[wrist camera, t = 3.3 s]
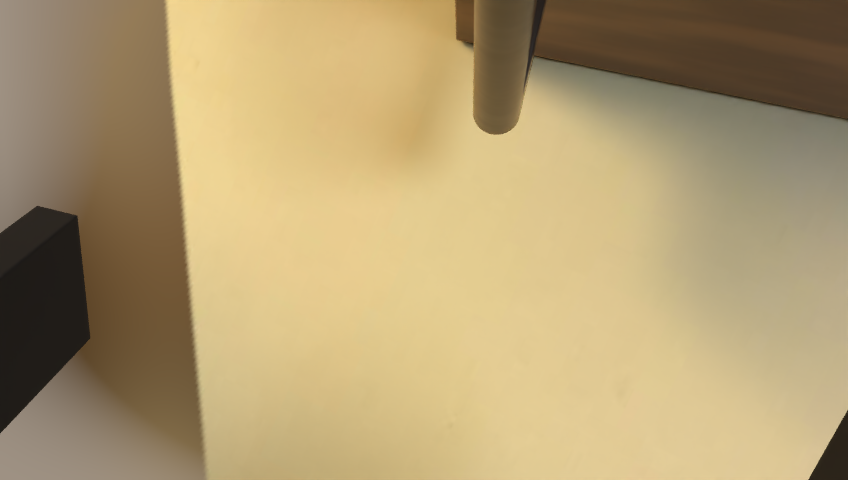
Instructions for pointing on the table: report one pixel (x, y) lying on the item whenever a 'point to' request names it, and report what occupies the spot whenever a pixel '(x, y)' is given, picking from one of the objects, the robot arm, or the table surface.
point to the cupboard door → (662, 48)
